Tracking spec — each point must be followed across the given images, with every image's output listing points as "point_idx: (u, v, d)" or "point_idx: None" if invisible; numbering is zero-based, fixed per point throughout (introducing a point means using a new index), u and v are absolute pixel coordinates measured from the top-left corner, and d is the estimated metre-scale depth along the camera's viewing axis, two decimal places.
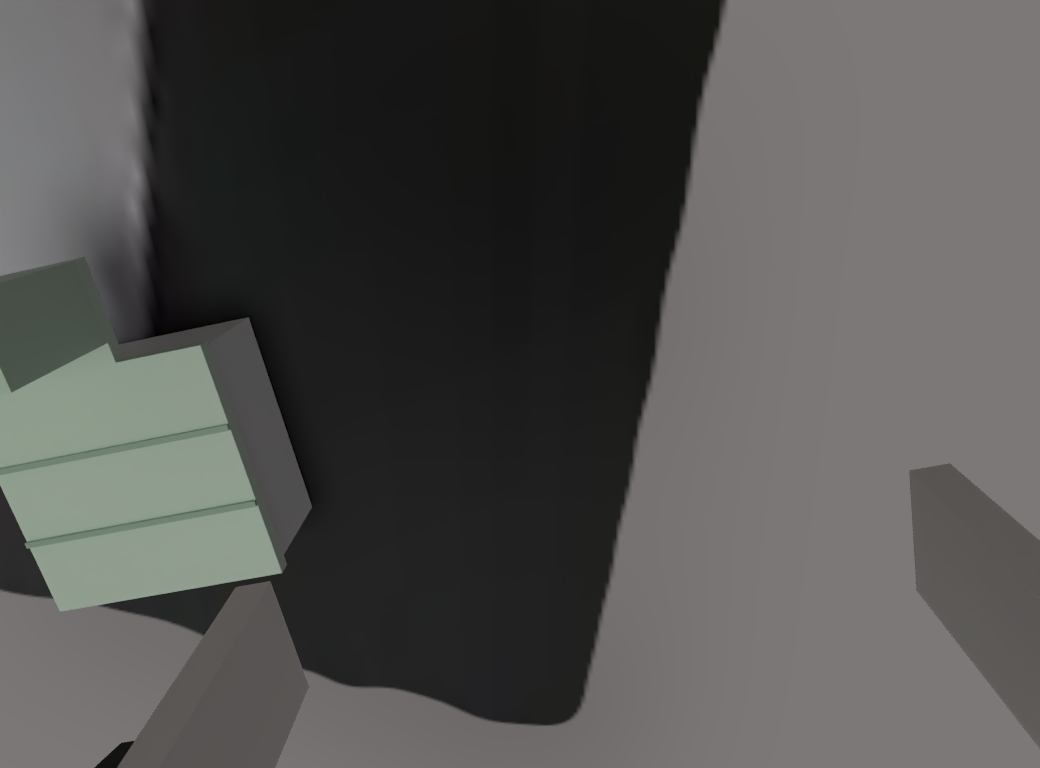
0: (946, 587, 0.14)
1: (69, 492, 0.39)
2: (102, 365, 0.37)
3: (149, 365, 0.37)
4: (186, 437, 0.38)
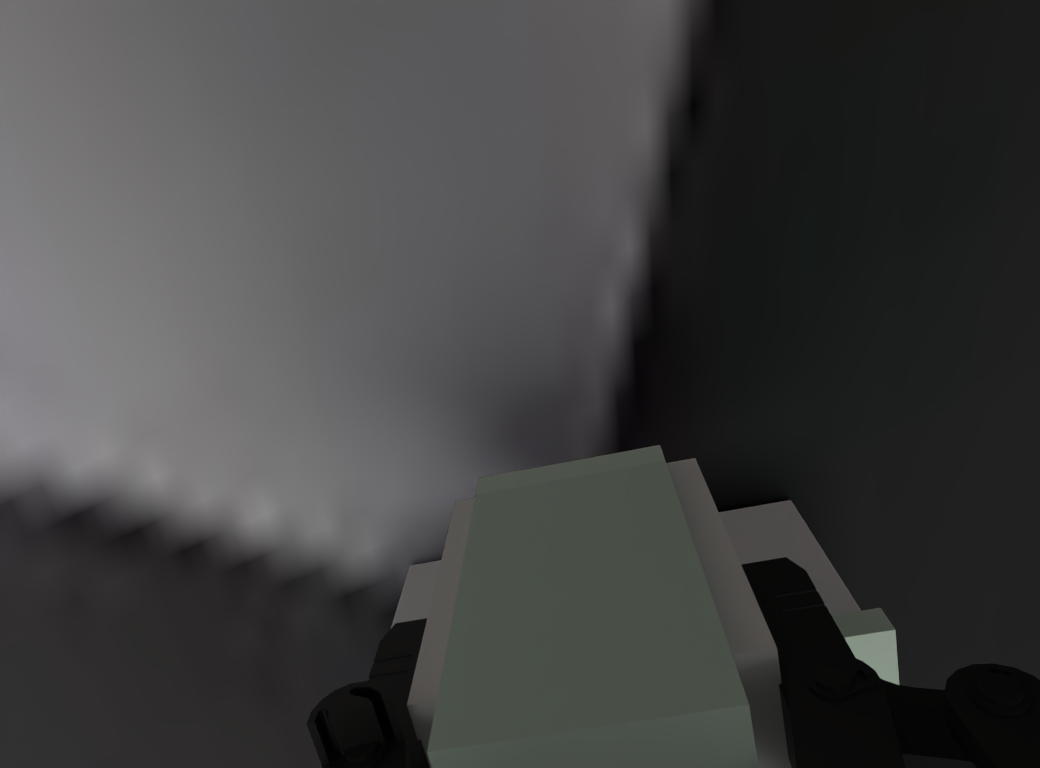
0: None
1: None
2: None
3: None
4: None
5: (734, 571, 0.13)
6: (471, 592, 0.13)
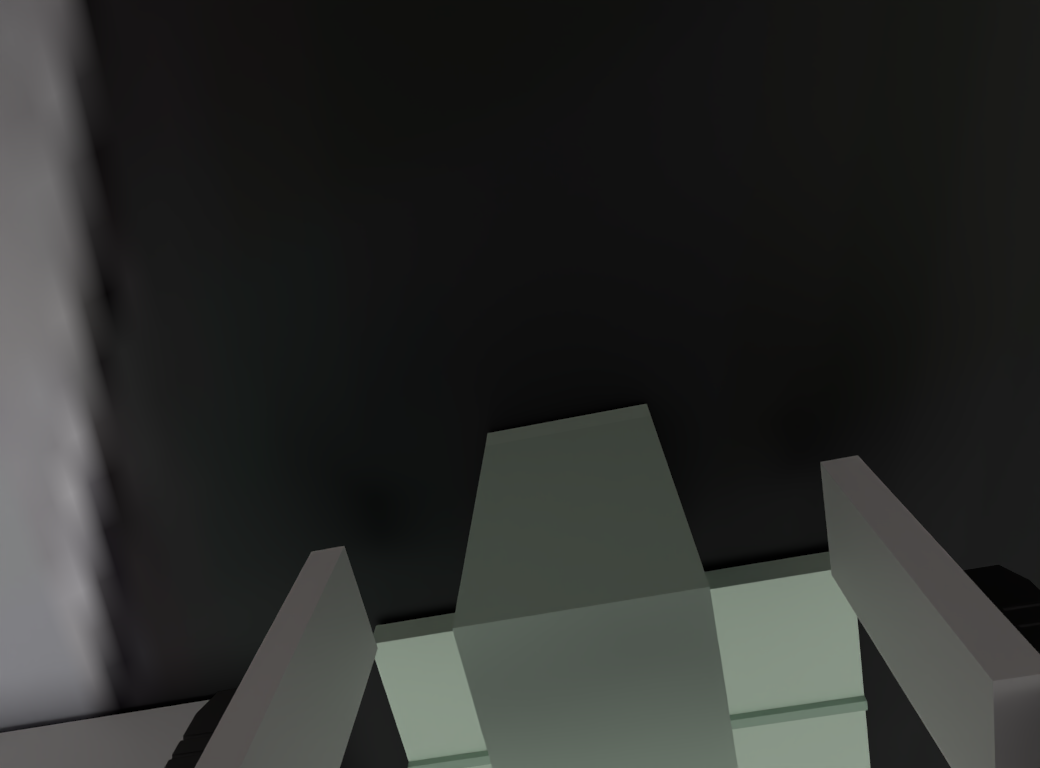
0: (850, 570, 0.15)
1: None
2: None
3: (744, 600, 0.20)
4: (782, 718, 0.21)
5: (961, 581, 0.12)
6: (484, 518, 0.15)
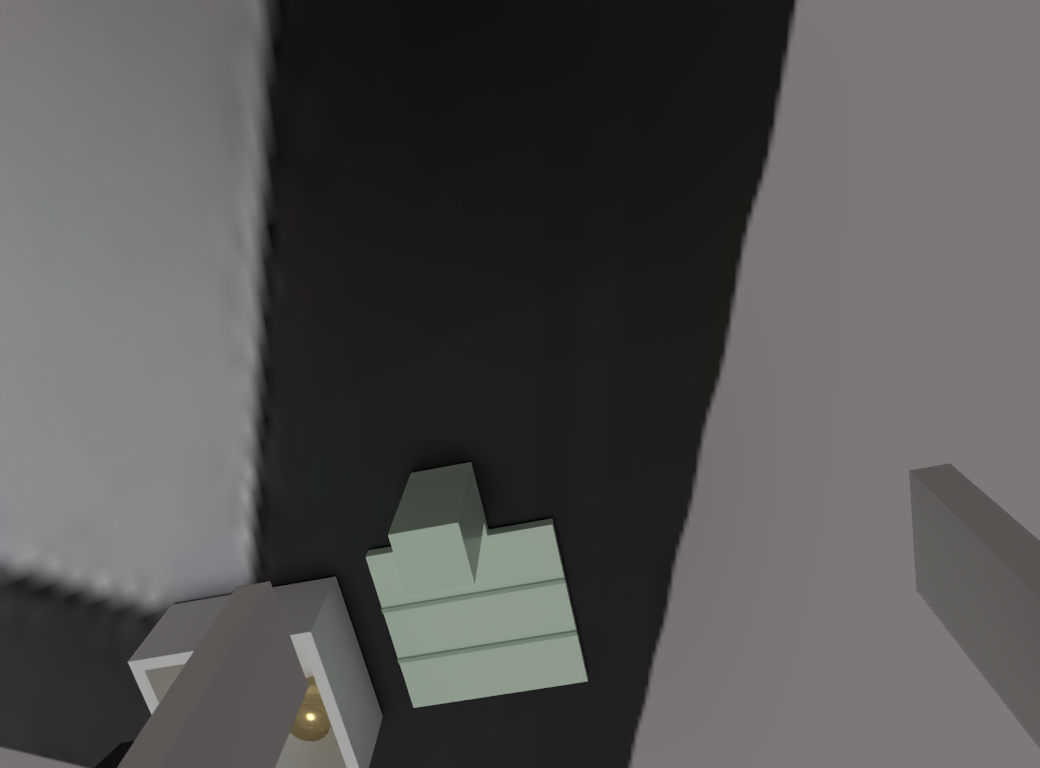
0: (946, 587, 0.14)
1: (436, 624, 0.53)
2: None
3: (512, 538, 0.51)
4: (532, 587, 0.52)
5: None
6: (403, 504, 0.46)
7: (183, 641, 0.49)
